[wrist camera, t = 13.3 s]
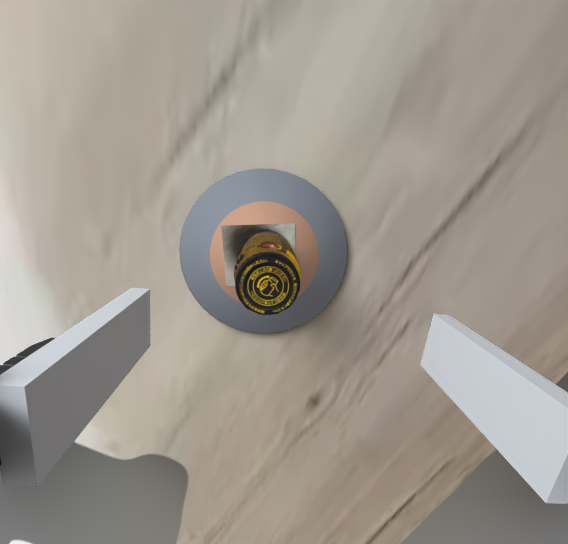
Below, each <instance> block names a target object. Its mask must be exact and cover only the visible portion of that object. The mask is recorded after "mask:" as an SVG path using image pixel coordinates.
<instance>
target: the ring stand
mask: <svg viewBox="0 0 568 544" xmlns="http://www.w3.org/2000/svg"><path fill="white" fill-rule="evenodd" d="M292 223H295V256H296V258H297V260H298V262H299V265H300V270H301V279H300V291H299V293H298V295H297V298H296V299H295V301H294V303H293V304H292V305H291V306H290V307H289V308H288V309H286V310H283V311H281V312H280V313H278V314H272V315H260V314H257V313H255V312H253V311H251V310H248V309H247V308H246V307H245V306H244V305H243V304H242V303H241V301H240V300H239V298H238V296H237V293H236V289H235V286H226V278H225V265H224V251H223V240H222V229H221V226H225V225H256V224H292ZM180 262H181V268H182V272H183V275H184V278H185V281H186V283H187V285H188V287H189V290H190V291H191V293H192V294H193V296H194V298H195V299H196V300H197V302H198V303H199V304H200V305H201V306H202V307H203V308H204V309H205V310H206V311H207V312H208V313H209V314H210V315H212V316H213V317H214V318H216V319H217V320H219V321H220V322H222V323H224V324H226V325H228V326H230V327H233V328H235V329H238V330H242V331H246V332H252V333H276V332H281V331H286V330H289V329H292V328H295V327H298V326H300V325H302V324H304V323H306V322H307V321H309V320H310V319H312V318H313V317H315V316H316V315H317V314H318V313H319V312H321V311H322V310H323V309H324V308H325V307H326V305H327V304H328V303H329V302H330V301H331V299H332V298H333V296H334V295H335V294H336V292H337V290H338V288H339V286H340V284H341V281H342V278H343V276H344V272H345V268H346V262H347V241H346V235H345V231H344V228H343V225H342V222H341V220H340V217H339V215H338V213H337V211H336V210H335V208H334V207H333V205H332V203H331V202H330V201H329V200H328V199H327V197H326V196H325V195H324V194H323V193H322V192H321V191H320V190H318V189H317V188H316V187H315V186H313V185H312V184H311V183H309V182H308V181H306V180H304V179H302V178H300V177H298V176H296V175H293V174H290V173H287V172H284V171H279V170H274V169H253V170H247V171H242V172H238V173H235V174H233V175H230V176H227V177H226V178H224V179H222V180H220V181H218V182H217V183H215V184H214V185H213V186H211V187H210V188H209V189H207V190H206V191H205V192H204V193H203V194H202V195H201V196H200V197H199V199H198V200H197V201H196V203H195V204H194V205H193V207H192V208H191V210H190V212H189V214H188V216H187V218H186V221H185V223H184V226H183V229H182V234H181V238H180Z"/></svg>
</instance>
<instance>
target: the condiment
mask: <svg viewBox="0 0 568 544" xmlns="http://www.w3.org/2000/svg"><path fill="white" fill-rule="evenodd" d="M221 229H222V240H223V251H224V265H225V278H226V286H235V289H236V293H237V296H238V298H239V300H240V301H241V303H242V304H243V305H244V306H245V307H246V308H247V309H248V310H251V311H253V312H255V313H257V314H260V315H272V314H278V313H280V312H281V311H283V310H286V309H288V308H289V307H290V306H291V305H292V304H293V303H294V301H295V299H296V298H297V295H298V293H299V291H300V279H301V270H300V265H299V262H298V260H297V258H296V256H295V223H292V224H256V225H225V226H221Z"/></svg>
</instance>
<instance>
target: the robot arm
mask: <svg viewBox="0 0 568 544" xmlns="http://www.w3.org/2000/svg"><path fill="white" fill-rule="evenodd" d="M149 346H150V289H142V288H131V289H129V290H128V291H126V292H124V293H123V294H121V295H120V296H118V297H117V298H115V299H114V300H112V301H111V302H109V303H108V304H106V305H105V306H103V307H102V308H100V309H99V310H97V311H96V312H94V313H93V314H91V315H90V316H88V317H87V318H85V319H84V320H82V321H81V322H79V323H78V324H76V325H75V326H73V327H72V328H70V329H69V330H67V331H66V332H64V333H63V334H61V335H60V336H58V337H57V338H50V339H47V340H44V341H42V342H39V343H37V344H34V345H32V346H30V347H28V348H27V349H25V350H24V351H22V352H21V353H19V354H17V356H16V357H13V358H11V359H9V360H8V361H6V362H5V363H4V364H3V365H0V471H1V477H2V483H3V486H19V487H20V486H21V487H38V486H39V485H40V484H41V482H42V481H43V480H44V479H45V477H46V476H47V475H48V474H49V472H50V471H51V470H52V469H53V467H54V466H55V465H56V463H57V462H58V461H59V460H60V458H61V457H62V456H63V455H64V453H65V452H66V451H67V450H68V448H69V447H70V446H71V445H72V443H73V442H74V441H75V440H76V438H77V437H78V436H79V435H80V433H81V432H82V431H83V430H84V428H85V427H86V426H87V424H88V423H89V422H90V421H91V419H92V418H93V417H94V416H95V414H96V413H97V412H98V411H99V409H100V408H101V407H102V406H103V404H104V403H105V402H106V401H107V399H108V398H109V397H110V396H111V394H112V393H113V392H114V391H115V389H116V388H117V387H118V385H119V384H120V383H121V382H122V380H123V379H124V378H125V377H126V375H127V374H128V373H129V372H130V370H131V369H132V368H133V367H134V365H135V364H136V363H137V362H138V360H139V359H140V358H141V357H142V355H143V354H144V353H145V352H146V350H147V349H148V348H149ZM420 365H421V366H422V367H423V368H424V370H425V371H426V372H427V373H428V374H429V375H430V376H431V377H432V378H433V379H434V381H435V382H436V383H437V384H438V385H439V386H440V387H441V388H442V389H443V390H444V392H445V393H446V394H447V395H448V396H449V397H450V398H451V399H452V400H453V401H454V403H455V404H456V405H457V406H458V407H459V408H460V409H461V410H462V411H463V412H464V414H465V415H466V416H467V417H468V418H469V419H470V420H471V421H472V422H473V423H474V425H475V426H476V427H477V428H478V429H479V430H480V431H481V432H482V433H483V434H484V436H485V437H486V438H487V439H488V440H489V441H490V442H491V443H492V444H493V445H494V447H495V448H496V449H497V450H498V451H499V452H500V453H501V454H502V455H503V456H504V458H505V459H506V460H507V461H508V462H509V463H510V464H511V465H512V466H513V467H514V469H515V470H516V471H517V472H518V473H519V474H520V475H521V476H522V477H523V478H524V479H525V481H526V482H527V483H528V484H529V485H530V486H531V487H532V488H533V489H534V491H535V492H536V493H537V494H538V495H539V496H540V497H541V498H542V499H543V500H544V502H546V503H561V504H568V393H567V392H566V391H564V390H563V389H561V388H560V387H558V386H556V385H555V384H554V383H552V382H551V381H549V380H547V379H546V378H544V377H543V376H541V375H540V374H538V373H537V372H535V371H534V370H532V369H531V368H529V367H527V366H526V365H524V364H523V363H521V362H520V361H518V360H517V359H515V358H514V357H512V356H511V355H509V354H508V353H506V352H504V351H503V350H501V349H500V348H498V347H497V346H495V345H494V344H492V343H491V342H489V341H488V340H486V339H485V338H483V337H481V336H480V335H478V334H477V333H475V332H474V331H472V330H471V329H469V328H468V327H466V326H465V325H463V324H462V323H460V322H458V321H457V320H455V319H454V318H452V317H451V316H449V315H440V314H434V315H433V318H432V322H431V326H430V330H429V334H428V337H427V341H426V345H425V349H424V353H423V357H422V360H421V364H420Z"/></svg>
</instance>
